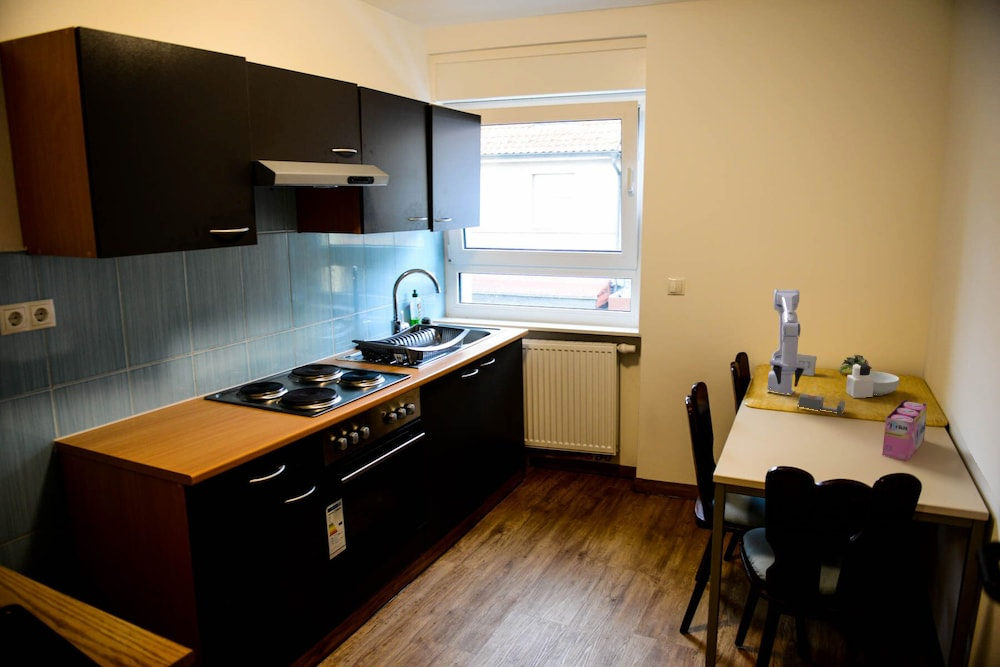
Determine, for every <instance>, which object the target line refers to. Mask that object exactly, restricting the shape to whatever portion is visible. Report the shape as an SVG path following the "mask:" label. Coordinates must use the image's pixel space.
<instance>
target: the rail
mask: <svg viewBox="0 0 1000 667" xmlns="http://www.w3.org/2000/svg"><path fill="white" fill-rule="evenodd" d="M797 405H799V402H798V403H797ZM845 406H846V401H844V400H840V402H839V403H838V404H837V405H836V407H831V406H825V405H823V406H821V410H826V411H832V412H837V414H836V413H835V415H836V416H837V417H841V416H842V415H843V414H842V412H843V411H844V412H845V410H844V409H845V408H846V407H845ZM844 412H843V413H844ZM841 414H842V415H841Z"/></svg>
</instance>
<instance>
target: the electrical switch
mask: <svg viewBox="0 0 1000 667" xmlns="http://www.w3.org/2000/svg"><path fill="white" fill-rule="evenodd" d="M817 359H818V358H817V356H816V355H810V354H802V353H797V362H798V363H802V364H807V365H809V368H808V370H804V371H803V373H802V375H801V376H808V377H814V376H815V371H816V364H817ZM793 375H795V372H794V374H793Z"/></svg>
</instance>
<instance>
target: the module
mask: <svg viewBox="0 0 1000 667" xmlns="http://www.w3.org/2000/svg"><path fill="white" fill-rule="evenodd" d="M798 397H799V398H798V403H799V407H804V408H809V409H814V410H818V411H820V409H821V406H824V398H825V397H824V396H821V395H816V394H810V393H809V394H808V393H801V394H800V395H799V396H798ZM799 407H798V408H799ZM820 412H821V411H820Z"/></svg>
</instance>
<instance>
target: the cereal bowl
mask: <svg viewBox="0 0 1000 667" xmlns="http://www.w3.org/2000/svg"><path fill="white" fill-rule="evenodd" d="M869 377H870V378H872V379H873V380H874V384H873V394H875V395H874V396H884V395H883V394H885V395H886V394H890V393H893V392H894V391H896V390H897V389H898V387H899V383H900V377H898V376H897V375H895V374H893V373H887V372H884V371H883V372H882V371H874V370H873V371H871V370H870V376H869ZM876 394H877V395H876Z"/></svg>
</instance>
